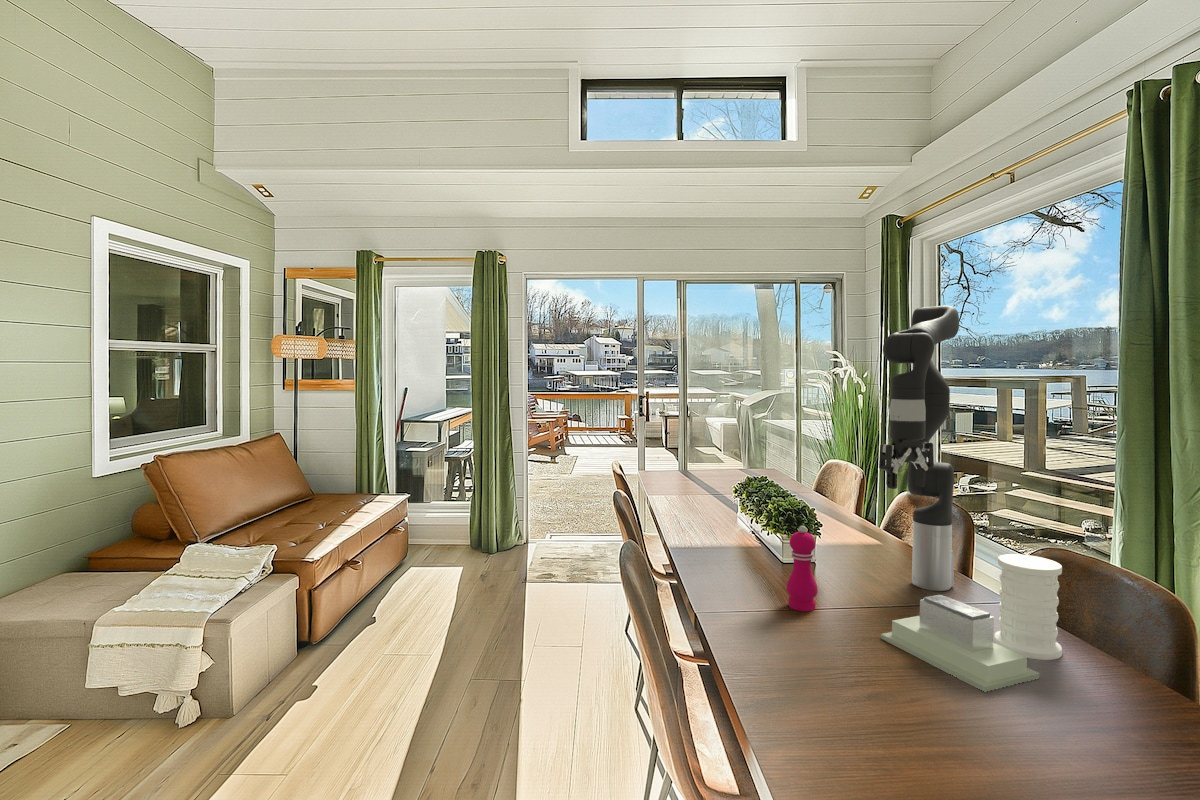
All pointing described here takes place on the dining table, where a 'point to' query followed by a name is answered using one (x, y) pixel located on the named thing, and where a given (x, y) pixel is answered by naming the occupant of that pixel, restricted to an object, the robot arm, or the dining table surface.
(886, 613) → the dining table surface
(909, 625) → the stand
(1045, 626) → the decorative container
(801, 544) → the pepper mill
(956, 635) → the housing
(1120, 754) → the dining table surface
